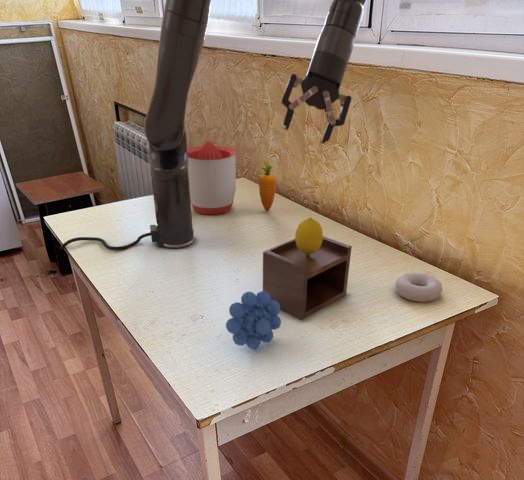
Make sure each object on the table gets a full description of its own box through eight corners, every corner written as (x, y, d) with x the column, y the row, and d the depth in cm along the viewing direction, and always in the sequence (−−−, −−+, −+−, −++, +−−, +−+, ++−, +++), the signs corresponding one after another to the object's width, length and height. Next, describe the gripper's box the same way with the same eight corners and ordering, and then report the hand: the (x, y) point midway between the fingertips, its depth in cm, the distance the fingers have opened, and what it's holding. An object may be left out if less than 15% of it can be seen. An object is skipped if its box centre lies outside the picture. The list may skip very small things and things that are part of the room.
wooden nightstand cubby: (301, 320, 100) (304, 268, 94) (262, 301, 106) (262, 251, 100) (346, 295, 109) (351, 246, 102) (307, 279, 115) (310, 231, 109)
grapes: (241, 369, 87) (239, 310, 80) (221, 351, 91) (217, 293, 84) (293, 348, 92) (296, 291, 85) (272, 332, 97) (273, 276, 90)
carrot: (275, 214, 150) (276, 163, 142) (258, 214, 150) (259, 163, 142) (275, 209, 154) (276, 159, 146) (259, 209, 154) (259, 159, 146)
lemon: (322, 261, 100) (325, 222, 95) (294, 260, 100) (296, 222, 95) (320, 250, 104) (323, 213, 100) (293, 249, 104) (295, 212, 100)
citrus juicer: (182, 201, 160) (176, 135, 148) (235, 200, 161) (234, 134, 150) (180, 219, 147) (174, 148, 136) (239, 216, 149) (237, 146, 137)
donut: (439, 308, 105) (441, 286, 112) (442, 294, 103) (444, 273, 110) (391, 300, 107) (396, 280, 115) (393, 286, 105) (399, 266, 113)
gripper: (301, 39, 99) (275, 123, 104) (366, 65, 101) (337, 146, 106) (297, 47, 106) (273, 126, 111) (358, 72, 108) (331, 147, 113)
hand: (304, 136), depth 109 cm, fingers open, 8 cm apart
